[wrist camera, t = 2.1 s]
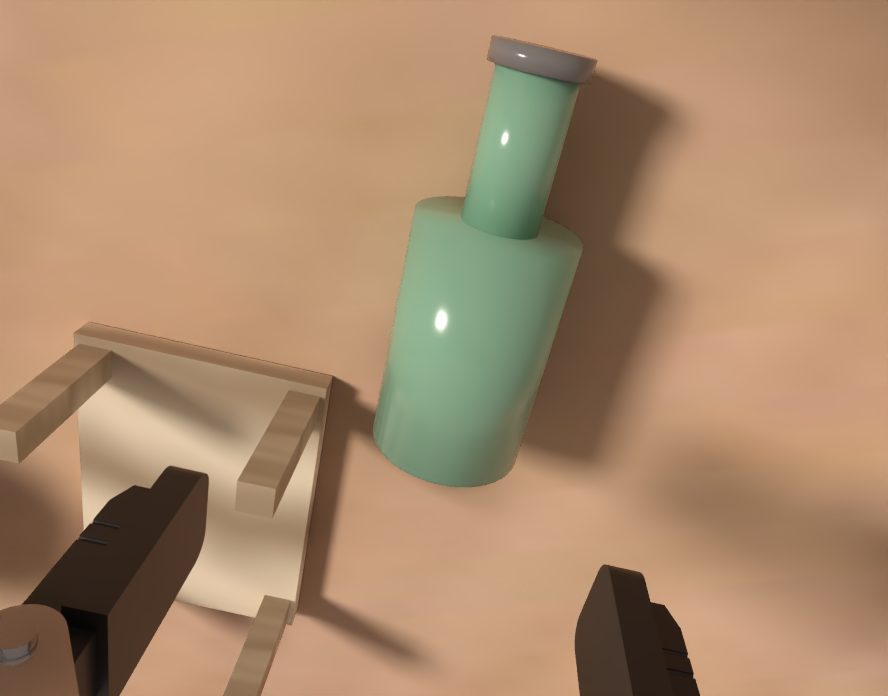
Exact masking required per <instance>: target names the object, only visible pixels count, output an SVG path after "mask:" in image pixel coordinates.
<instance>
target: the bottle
mask: <svg viewBox="0 0 888 696" xmlns="http://www.w3.org/2000/svg"><path fill="white" fill-rule="evenodd" d="M487 60H489V61H491V62H493V63H495V67H494V71H493V75H492V80H491V84H490V89H489V93H488V98H487V102H486V106H485V111H484V115H483V120H482V124H481V129H480V133H479V138H478V142H477V146H476V151H475V155H474V160H473V164H472V169H471V173H470V178H469V182H468V186H467V191H466V195H465V197H449V196H445V197H432V198H428V199H424V200H422V201H420V202H418V203H417V204H416V206H415V211H414V216H413V221H412V226H411V231H410V237H409V242H408V247H407V252H406V258H405V263H404V268H403V273H402V278H401V284H400V289H399V294H398V299H397V305H396V310H395V315H394V320H393V325H392V331H391V336H390V341H389V346H388V352H387V357H386V362H385V367H384V372H383V378H382V383H381V388H380V393H379V398H378V404H377V409H376V414H375V419H374V425H373V436H374V440H375V442H376V444H377V446H378V448H379V449H380V451H381V452H382V453H383V454H384V456H385V457H386V458H387V459H388V460H390V461H391V462H392V463H393V464H394V465H396V466H397V467H399V468H400V469H402V470H403V471H405V472H407V473H409V474H411V475H413V476H415V477H417V478H420V479H422V480H425V481H428V482H432V483H435V484H440V485H445V486H452V487H476V486H482V485H487V484H490V483H493V482H496V481H498V480H500V479H502V478H503V477H504V476H506V475H507V474H508V473H509V472H510V471H511V470H512V468H513V466H514V464H515V461H516V458H517V455H518V452H519V449H520V446H521V442H522V439H523V436H524V433H525V430H526V427H527V424H528V420H529V417H530V414H531V411H532V408H533V405H534V402H535V398H536V395H537V392H538V389H539V386H540V383H541V380H542V377H543V373H544V370H545V367H546V364H547V361H548V358H549V355H550V351H551V348H552V345H553V342H554V339H555V336H556V333H557V329H558V326H559V323H560V320H561V317H562V314H563V311H564V308H565V304H566V301H567V298H568V295H569V292H570V289H571V286H572V282H573V279H574V276H575V273H576V270H577V267H578V264H579V260H580V257H581V254H582V251H583V248H584V246H583V243H582V241H581V239H580V238H579V237H578V236H577V235H576V234H574V233H573V232H572V231H570V230H569V229H567V228H566V227H564V226H562V225H560V224H558V223H557V222H555V221H552V220H550V219H548V218H546V217H543V216H544V213H545V209H546V206H547V202H548V199H549V195H550V191H551V188H552V184H553V181H554V177H555V174H556V170H557V167H558V163H559V160H560V156H561V153H562V149H563V146H564V142H565V139H566V135H567V132H568V128H569V124H570V121H571V117H572V114H573V110H574V107H575V103H576V100H577V96H578V93H579V89H580V86H581V84H591V81H592V78H593V74H594V71H595V67H596V64H597V60H596V59H593V58H590V57H586V56H583V55H579V54H575V53H571V52H567V51H563V50H559V49H555V48H551V47H547V46H543V45H539V44H534V43H530V42H525V41H521V40H516V39H511V38H507V37H501V36H496V35H492V37H491V42H490V47H489V51H488V56H487Z"/></svg>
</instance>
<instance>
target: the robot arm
mask: <svg viewBox="0 0 888 696" xmlns="http://www.w3.org/2000/svg"><path fill="white" fill-rule="evenodd" d="M208 488H209V477H208V474H206V473H202V472H198V471H193V470H189V469H184V468H180V467H176V466H168V467H167V468H166V469H165V470H164V471H163V472H162V474H161V475H160V476H159V477H158V479H157V480H156V481H155V483H154V484H153V485H152V487H151V488H145V487H141V486H137V485H134V486H132V487H130V488H128V489H127V490H125V491H123V492H122V493H120V494H118V495H117V496H115V497H113V498H112V499H110V500H109V501H108V502H107V503H106V505H105V506H104V507H103V508H102V509H101V511H100V512H99V513H98V514H97V515H96V517H95V518H94V519H93V522H92V524H91V523H90V524H89V525H88V526H87V527H86V529H85V530H84V531H83V532H82V533H81V535H80V537H79V539H78V540H76V541H75V542H74V543H73V544H72V545H71V547H70V548H69V549H68V550H67V551H66V553H65V554H64V555H63V556H62V557H61V559H60V560H59V561H58V562H57V563H56V565H55V566H54V567H53V568H52V569H51V571H50V572H49V573H48V574H47V575H46V577H45V578H44V579H43V580H42V581H41V583H40V584H39V585H38V586H37V587H36V589H35V590H34V591H33V592H32V593H31V595H30V596H29V597H28V598H27V599H26V600H25V602H24V603H23V604H22V605H18V606H13V607H10V608H7V609H4V610H1V611H0V696H119V695H120V693H121V692H122V690H123V688H124V687H125V685H126V683H127V681H128V680H129V678H130V676H131V674H132V673H133V671H134V669H135V667H136V666H137V664H138V662H139V660H140V659H141V657H142V655H143V654H144V652H145V650H146V648H147V647H148V645H149V643H150V641H151V640H152V638H153V636H154V634H155V633H156V631H157V629H158V627H159V626H160V624H161V622H162V621H163V619H164V617H165V615H166V614H167V612H168V610H169V608H170V607H171V605H172V603H173V601H174V600H175V598H176V596H177V594H178V593H179V591H180V589H181V588H182V586H183V584H184V582H185V581H186V579H187V577H188V575H189V574H190V572H191V570H192V568H193V567H194V565H195V563H196V561H197V559H198V557H199V554H200V551H201V549H202V545H203V542H204V537H205V531H206V518H207V503H208ZM575 655H576V664H577V673H578V682H579V691H580V696H700V694H699V690H698V687H697V683H696V680H695V679H693V674H694V673H693V670H692V666H691V663H690V659H689V658H687V655H688V652H687V649H686V645H685V642H684V638H683V635H682V631H681V629H680V627H679V626H678V624H677V623H676V621H675V620H674V618H673V617H672V616H671V614H670V613H669V611H668V610H667V608H666V607H665V605H661V604H657V603H652V602H650V598H649V594H648V590H647V586H646V582H645V579H644V576H643V574H642V573H640V572H636V571H632V570H628V569H623V568H619V567H614V566H610V565H602V567H601V568H600V569H599V572H598V574H597V576H596V578H595V581H594V583H593V585H592V588H591V590H590V592H589V595H588V597H587V599H586V602H585V604H584V606H583V609H582V611H581V613H580V616H579V619H578V622H577V627H576V633H575Z"/></svg>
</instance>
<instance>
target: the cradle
mask: <svg viewBox="0 0 888 696" xmlns="http://www.w3.org/2000/svg"><path fill="white" fill-rule="evenodd" d="M332 378H333V376H330V375H325V374H321V373H316V372H312V371H307V370H303V369H298V368H294V367H289V366H285V365H280V364H276V363H271V362H267V361H262V360H258V359H253V358H249V357H244V356H240V355H235V354H231V353H226V352H222V351H217V350H213V349H208V348H204V347H199V346H195V345H190V344H186V343H181V342H177V341H172V340H168V339H163V338H159V337H154V336H150V335H145V334H141V333H136V332H132V331H127V330H123V329H118V328H114V327H109V326H105V325H100V324H96V323H91V322H88V323H86V324H85V325H84V326H82V327H81V328H80V329H78V330H77V331H76V332H74V348H73V349H72V350H70V351H69V352H68V353H67V354H65V355H64V356H63V357H61V358H60V359H59V360H58V361H56V362H55V363H54V364H52V365H51V366H50V367H49V368H47V369H46V370H45V371H43V372H42V373H41V374H40V375H38V376H37V377H36V378H34V379H33V380H32V381H30V382H29V383H28V384H27V385H25V386H24V387H23V388H21V389H20V390H19V391H18V392H16V393H15V394H14V395H12V396H11V397H10V398H9V399H7V400H6V401H5V402H3V403H2V404H1V405H0V460H3V461H8V462H12V463H17V464H19V463H20V462H21V461H22V460H23V459H25V458H26V457H27V456H28V455H29V454H30V453H31V452H32V451H33V450H34V449H35V448H36V447H37V446H39V445H40V444H41V443H42V442H43V441H44V440H45V439H46V438H47V437H48V436H49V435H50V434H51V433H53V432H54V431H55V430H56V429H57V428H58V427H59V426H60V425H61V424H62V423H63V422H64V421H66V420H67V419H68V418H69V417H70V416H71V415H72V414H73V413H74V412H75V411H76V410H77V409H78V427H79V446H80V465H81V484H82V503H83V523H84V530H85V529H86V527H87V526H88V525H89V524H90V523H91V524H92V522H93V519H94V518H95V517H96V515H97V514H98V513H99V512H100V511H101V509H102V508H103V507H104V506H105V505H106V503H107V502H108V501H109V500H110V499H112V498H113V497H115V496H117V495H118V494H120V493H122V492H123V491H125V490H127V489H128V488H130V487H132V486H134V485H137V486H141V487H145V488H151V487H152V485H153V484H154V483H155V481H156V480H157V479H158V477H159V476H160V475H161V474H162V472H163V471H164V470H165V469H166V468H167V467H168V466H176V467H180V468H184V469H189V470H193V471H198V472H202V473H206V474H208V477H209V488H208V503H207V518H206V531H205V537H204V542H203V545H202V549H201V551H200V554H199V557H198V559H197V561H196V563H195V565H194V567H193V568H192V570H191V572H190V574H189V575H188V577H187V579H186V581H185V582H184V584H183V586H182V588H181V589H180V591H179V593H178V594H177V596H176V598H175V601H179V602H184V603H189V604H194V605H198V606H203V607H208V608H212V609H217V610H222V611H226V612H231V613H236V614H240V615H245V616H250V617H254V618H255V620H254V622H253V624H252V627H251V629H250V632H249V634H248V637H247V639H246V641H245V644H244V646H243V649H242V651H241V654H240V656H239V658H238V661H237V663H236V666H235V668H234V671H233V673H232V675H231V678H230V680H229V683H228V685H227V688H226V690H225V692H224V695H223V696H261V693H262V690H263V688H264V685H265V682H266V679H267V676H268V674H269V671H270V668H271V665H272V662H273V660H274V657H275V654H276V651H277V648H278V646H279V643H280V640H281V637H282V634H283V632H284V629H285V626H286V624H287V625H292V623H293V620H294V617H295V614H296V611H297V608H298V602H299V595H300V589H301V582H302V575H303V569H304V562H305V556H306V549H307V542H308V536H309V529H310V523H311V516H312V510H313V503H314V496H315V490H316V483H317V477H318V470H319V464H320V457H321V450H322V444H323V437H324V431H325V424H326V417H327V411H328V404H329V398H330V391H331V385H332Z"/></svg>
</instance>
